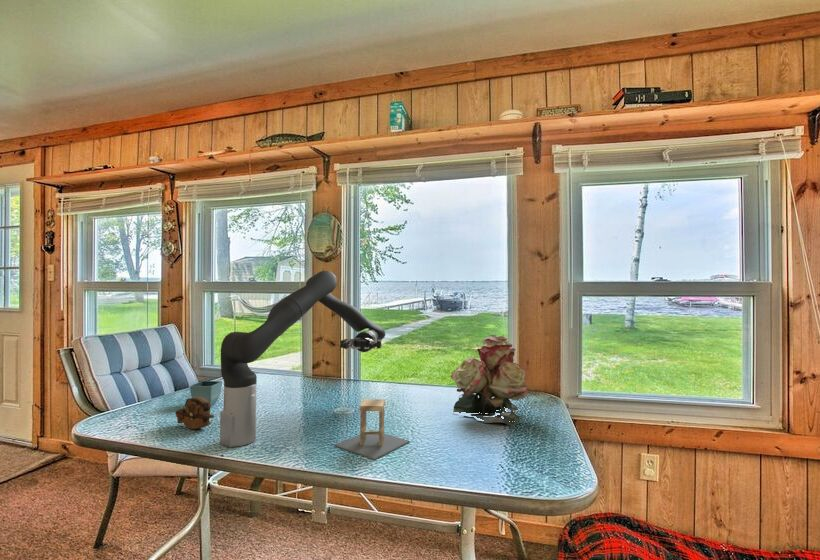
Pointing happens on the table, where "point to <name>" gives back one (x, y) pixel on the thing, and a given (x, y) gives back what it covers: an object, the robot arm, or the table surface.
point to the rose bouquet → (491, 382)
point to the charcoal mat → (372, 445)
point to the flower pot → (207, 390)
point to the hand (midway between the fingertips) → (357, 346)
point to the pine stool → (365, 406)
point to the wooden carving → (195, 413)
